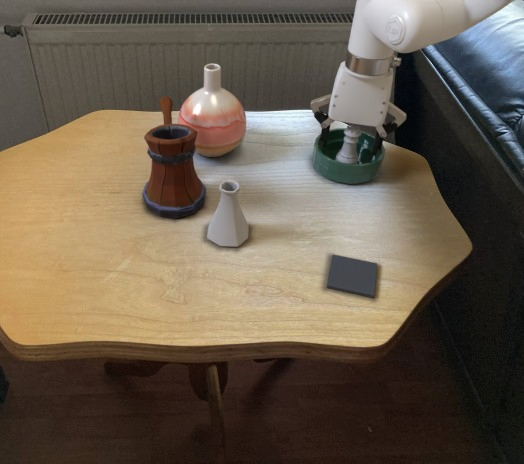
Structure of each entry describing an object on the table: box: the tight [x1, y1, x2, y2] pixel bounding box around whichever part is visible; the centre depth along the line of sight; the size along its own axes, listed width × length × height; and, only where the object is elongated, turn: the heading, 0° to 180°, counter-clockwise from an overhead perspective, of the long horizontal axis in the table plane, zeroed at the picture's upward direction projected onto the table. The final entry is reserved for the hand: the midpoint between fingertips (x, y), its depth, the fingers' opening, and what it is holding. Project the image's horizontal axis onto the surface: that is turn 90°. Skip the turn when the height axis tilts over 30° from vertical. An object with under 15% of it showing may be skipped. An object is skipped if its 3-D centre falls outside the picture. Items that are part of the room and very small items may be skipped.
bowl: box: [311, 127, 386, 185], centre depth 100 cm, size 13×13×4 cm
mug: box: [141, 95, 207, 219], centre depth 90 cm, size 18×12×15 cm, turn 8°
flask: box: [206, 179, 250, 248], centre depth 83 cm, size 7×7×10 cm
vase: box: [177, 63, 248, 158], centre depth 100 cm, size 14×14×18 cm
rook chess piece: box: [335, 123, 362, 164], centre depth 98 cm, size 4×4×8 cm
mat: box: [326, 254, 378, 299], centre depth 79 cm, size 7×7×1 cm
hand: (349, 147), depth 99 cm, fingers open, 9 cm apart
